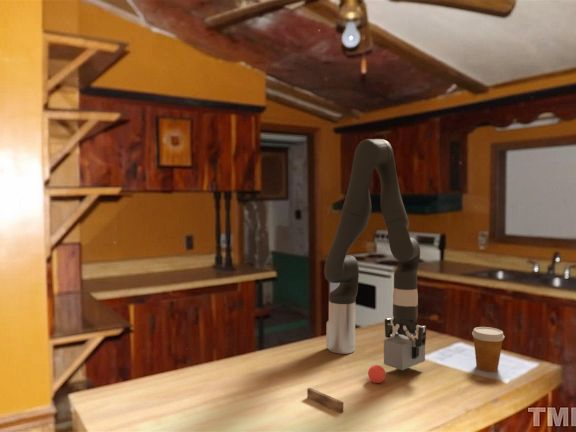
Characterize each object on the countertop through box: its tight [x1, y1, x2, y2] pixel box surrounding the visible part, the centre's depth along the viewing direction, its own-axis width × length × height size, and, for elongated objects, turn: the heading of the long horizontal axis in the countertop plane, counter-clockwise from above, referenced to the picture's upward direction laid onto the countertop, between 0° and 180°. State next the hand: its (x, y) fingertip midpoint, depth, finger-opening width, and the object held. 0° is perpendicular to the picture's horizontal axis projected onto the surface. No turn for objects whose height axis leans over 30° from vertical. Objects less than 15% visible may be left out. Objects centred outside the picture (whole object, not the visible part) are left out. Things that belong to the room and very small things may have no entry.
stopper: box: [306, 387, 344, 414], centre depth 127 cm, size 12×1×2 cm, turn 42°
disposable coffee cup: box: [471, 326, 505, 372], centre depth 154 cm, size 10×10×12 cm
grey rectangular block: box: [383, 334, 426, 371], centre depth 151 cm, size 7×12×8 cm, turn 132°
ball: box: [367, 364, 386, 384], centre depth 142 cm, size 5×5×5 cm
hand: (404, 355), depth 151 cm, fingers closed on grey rectangular block, 7 cm apart
